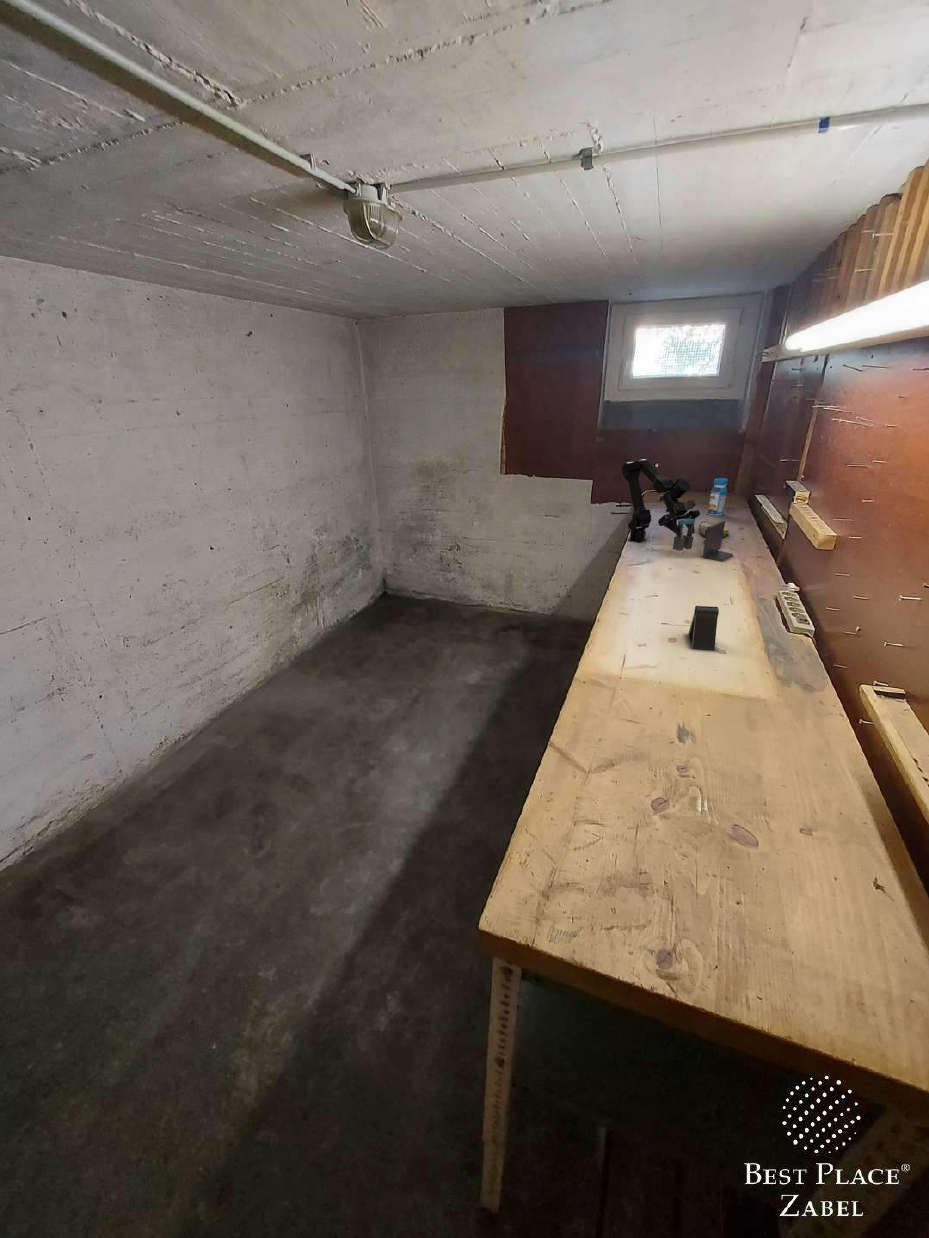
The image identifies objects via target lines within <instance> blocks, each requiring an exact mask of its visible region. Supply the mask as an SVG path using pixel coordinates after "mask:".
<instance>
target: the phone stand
mask: <svg viewBox="0 0 929 1238" xmlns="http://www.w3.org/2000/svg"><path fill="white" fill-rule="evenodd" d="M719 611H720V608H719V606H709V605H695V607H694V610H693V616H692V619H691V622H690V626H689V629H688V633H687V636H688V639H689V643H690V645H691V648H692V649H695V650H709V651H715V649H716V637H717V628H718V627H717V626H718V618H719V614H720V612H719Z"/></svg>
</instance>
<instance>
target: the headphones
mask: <svg viewBox="0 0 929 1238" xmlns="http://www.w3.org/2000/svg"><path fill="white" fill-rule="evenodd" d="M695 523H696V519H695V520H694V519H685V520H684V519H681V520H677V525H678V528H679V530H680V533H681V535H680V536H678V535H677V534H675V536H674V537H673V544H672V549H673V550H675V551H677V552H681V551H682V552H683V551H684V549H686V550H692V549H693V543H694V536H693V534H694V533H693V527H694V528H695ZM686 524H689V525H688V528H687V531H686V534H683V530H684V525H685V526H686ZM692 533H693V534H692Z"/></svg>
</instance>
